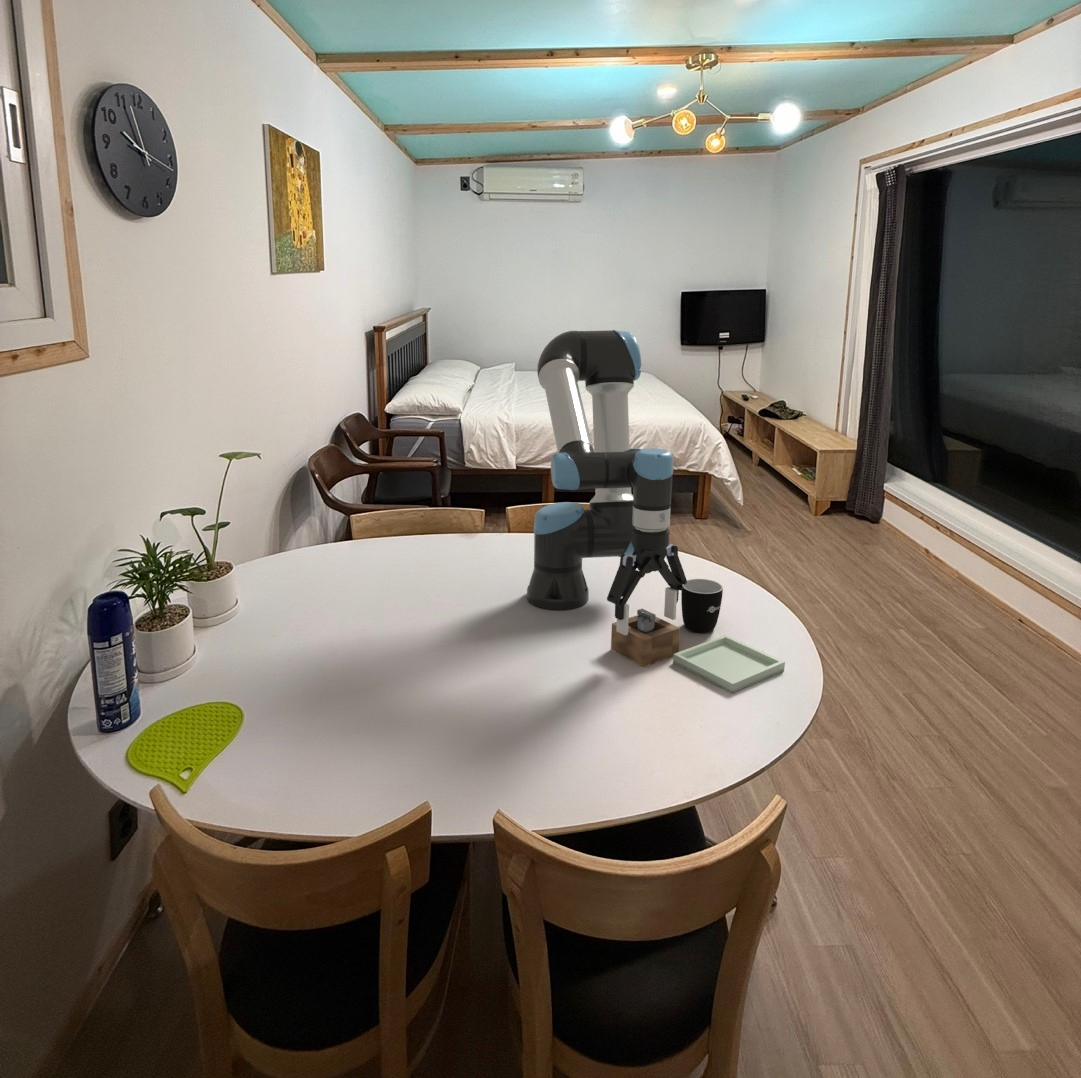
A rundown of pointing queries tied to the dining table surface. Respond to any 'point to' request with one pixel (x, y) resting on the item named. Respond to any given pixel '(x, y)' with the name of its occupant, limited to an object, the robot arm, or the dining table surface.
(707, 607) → the mug
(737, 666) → the tray
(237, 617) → the dining table surface
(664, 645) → the wooden open box
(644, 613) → the dark grey upright block
